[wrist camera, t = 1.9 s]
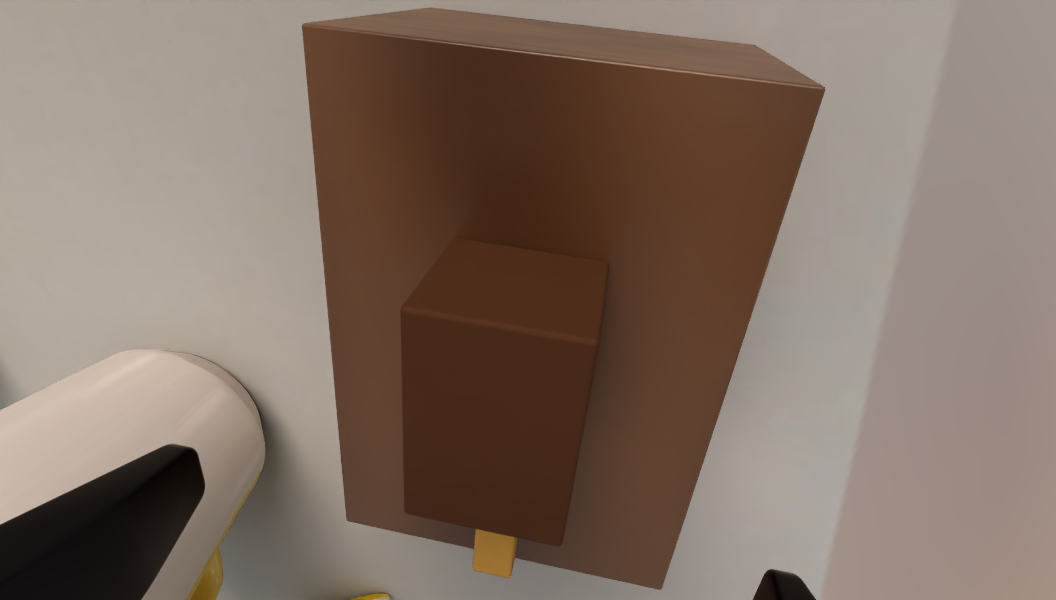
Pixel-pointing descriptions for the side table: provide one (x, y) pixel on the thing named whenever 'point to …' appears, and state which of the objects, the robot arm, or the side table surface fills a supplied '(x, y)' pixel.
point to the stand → (554, 235)
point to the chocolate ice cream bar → (498, 391)
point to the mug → (139, 447)
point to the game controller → (373, 597)
